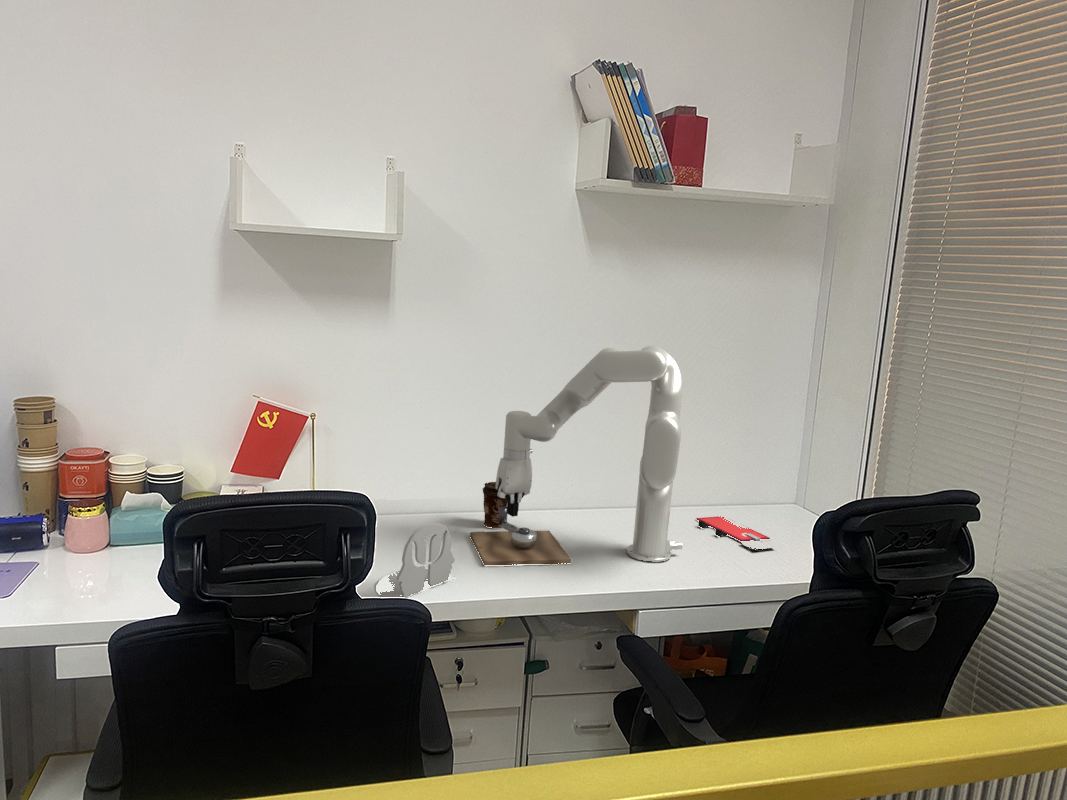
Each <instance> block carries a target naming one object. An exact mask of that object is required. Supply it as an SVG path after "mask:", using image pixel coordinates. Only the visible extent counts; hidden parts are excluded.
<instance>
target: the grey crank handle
mask: <svg viewBox="0 0 1067 800" xmlns="http://www.w3.org/2000/svg"><path fill="white" fill-rule="evenodd" d="M507 511H508V507H506V506H500V507H499V521H498V524H499V527H501V529H502V530H505V531H509V532H511V533H512V535H511V543H512V544H513V545H515V546H518V547H533V546H535V545H536V535H537V533H536V532H535V531H536V530H533V529H530V528H528V527H518V526H516V525H514V524H512V523H509V522H508V514H507Z"/></svg>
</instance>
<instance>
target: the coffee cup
mask: <svg viewBox="0 0 1067 800" xmlns="http://www.w3.org/2000/svg"><path fill="white" fill-rule="evenodd" d="M483 485H484V486H483V488H481V489H482V493H483V512H484V518H483V519H484V521H483V523H482V524H484V525H485V526H487V527H492V528H501V527H499V524H498V521H499V507H500V506H506V507H507V501H506V499H505V498H500V497H498V496H497V494H498V490H496V481H490V482H485V483H484V484H483ZM484 525H483V526H484ZM485 526H484V527H485ZM501 529H502V528H501Z"/></svg>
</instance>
